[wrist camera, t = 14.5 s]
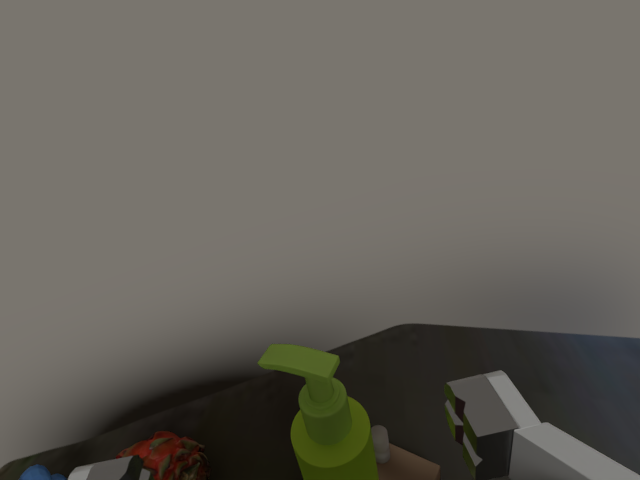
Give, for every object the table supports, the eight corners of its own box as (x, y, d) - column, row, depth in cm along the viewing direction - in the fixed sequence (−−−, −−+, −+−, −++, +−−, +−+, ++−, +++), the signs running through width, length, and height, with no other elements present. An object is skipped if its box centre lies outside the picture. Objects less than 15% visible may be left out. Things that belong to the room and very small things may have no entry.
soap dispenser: (324, 472, 39) (282, 320, 30) (392, 497, 36) (370, 336, 27) (298, 536, 35) (238, 381, 25) (373, 570, 32) (338, 409, 22)
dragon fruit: (232, 498, 42) (129, 533, 43) (218, 415, 46) (122, 448, 46) (197, 518, 35) (71, 561, 35) (182, 417, 38) (68, 456, 39)
